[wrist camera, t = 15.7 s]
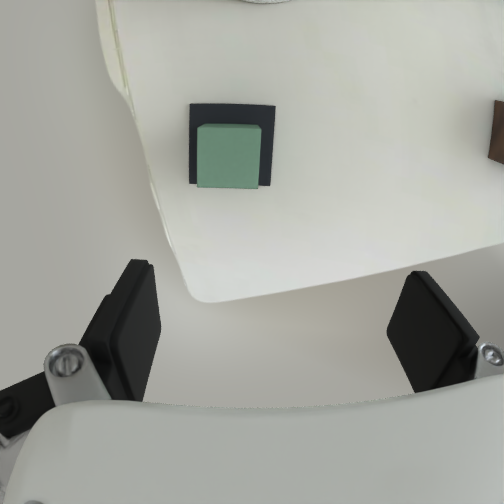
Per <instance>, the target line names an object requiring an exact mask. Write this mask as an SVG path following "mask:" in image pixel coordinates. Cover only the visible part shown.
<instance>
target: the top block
mask: <svg viewBox="0 0 504 504" xmlns="http://www.w3.org/2000/svg"><path fill="white" fill-rule="evenodd" d="M260 144H261V128H260V127H259V126H258V125H251V124H211V123H205V124H203V125H202V126H200V127H198V128H197V187H203V188H244V189H258V178H259V161H260Z"/></svg>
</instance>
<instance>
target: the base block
mask: <svg viewBox="0 0 504 504" xmlns="http://www.w3.org/2000/svg"><path fill="white" fill-rule="evenodd" d="M488 158H489V159H492V160H494V161H497V162H499V163H502V164H504V102H503V101H497V100H495V110H494V120H493V129H492V136H491V143H490V150H489V156H488Z"/></svg>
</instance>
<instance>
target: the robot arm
mask: <svg viewBox="0 0 504 504" xmlns="http://www.w3.org/2000/svg"><path fill="white" fill-rule="evenodd" d="M243 1H247V2H253V3H279V2H285V1H290V0H243ZM160 333H161V321H160V314H159V307H158V300H157V293H156V283H155V275H154V267H153V265H152V264H149V263H148V261H147V260H138V259H131V260H130V262H129V263H128V265H127V267H126V268H125V270H124V272H123V273H122V275H121V277H120V279H119V280H118V282H117V283H116V285H115V287H114V289H113V290H112V292H111V294H109V295H106V296H105V297H104V299H103V300H102V302H101V304H100V306H99V308H98V309H97V311H96V313H95V315H94V316H93V318H92V320H91V322H90V324H89V325H88V327H87V329H86V331H85V333H84V335H83V337H82V339H81V341H80V342H79V344H78V345H76V344H64V345H60V346H58V347H56V348H54V349H53V350H52V351H50V352H49V353H48V355H47V356H46V358H45V361H44V372H41V373H39V374H37V375H35V376H32V377H30V378H28V379H26V380H23V381H21V382H19V383H17V384H14V385H12V386H10V387H8V388H5V389H3V390H1V391H0V504H504V351H503V350H502V349H501V348H500V347H499V346H497V345H495V344H493V343H491V342H483V343H481V344H480V345H479V346H478V348H477V346H476V345H475V344H476V343H477V341H478V339H479V335H478V334H477V333H476V331H475V330H474V329H473V327H472V326H471V325H470V323H469V322H468V321H467V319H466V318H465V317H464V316H463V314H462V313H461V312H460V311H459V309H458V308H457V307H456V306H455V304H454V303H453V302H452V301H451V300H450V298H449V297H448V296H447V295H446V293H445V292H444V291H443V290H442V289H441V288H440V286H439V285H438V284H437V283H436V282H435V281H434V279H432V277H431V276H430V275H429V274H428V273H427V272H426V271H413V272H411V274H410V275H408V276H407V278H406V281H405V284H404V286H403V289H402V292H401V294H400V297H399V300H398V302H397V305H396V307H395V310H394V312H393V315H392V317H391V320H390V322H389V325H388V327H387V336H388V338H389V340H390V342H391V344H392V346H393V348H394V350H395V352H396V354H397V356H398V358H399V361H400V362H401V365H402V367H403V369H404V371H405V373H406V375H407V377H408V379H409V381H410V384H411V386H412V388H413V390H414V392H415V393H414V394H408V395H403V396H398V397H391V398H385V399H379V400H371V401H364V402H355V403H346V404H338V405H337V404H336V405H325V406H311V407H291V408H220V407H200V406H183V405H172V404H162V403H150V402H142V401H143V397H144V393H145V389H146V385H147V381H148V377H149V374H150V370H151V366H152V362H153V358H154V355H155V351H156V347H157V344H158V341H159V337H160Z"/></svg>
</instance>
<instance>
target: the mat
mask: <svg viewBox="0 0 504 504" xmlns="http://www.w3.org/2000/svg"><path fill="white" fill-rule="evenodd" d="M275 107H276V106H268V105H249V104H190V121H189V184H197V128H198V127H200V126H202V125H203V124H205V123H211V124H251V125H258V126H259V127H260V128H261V144H260V161H259V178H258V185H260V186H270V181H271V167H272V152H273V137H274V122H275Z"/></svg>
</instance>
